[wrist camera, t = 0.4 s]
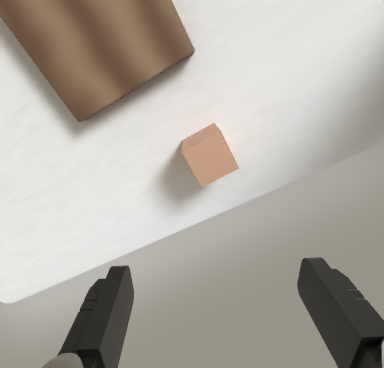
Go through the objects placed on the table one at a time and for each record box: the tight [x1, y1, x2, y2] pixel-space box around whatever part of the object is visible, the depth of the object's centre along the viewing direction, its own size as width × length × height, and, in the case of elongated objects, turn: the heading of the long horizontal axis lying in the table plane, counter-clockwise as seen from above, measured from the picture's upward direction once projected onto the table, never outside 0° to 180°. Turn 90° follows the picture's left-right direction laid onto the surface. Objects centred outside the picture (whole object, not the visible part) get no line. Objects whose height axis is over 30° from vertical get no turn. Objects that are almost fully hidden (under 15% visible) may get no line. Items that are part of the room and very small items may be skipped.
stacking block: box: [181, 123, 239, 187], centre depth 29 cm, size 5×5×6 cm
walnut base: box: [0, 0, 195, 122], centre depth 25 cm, size 16×16×2 cm
